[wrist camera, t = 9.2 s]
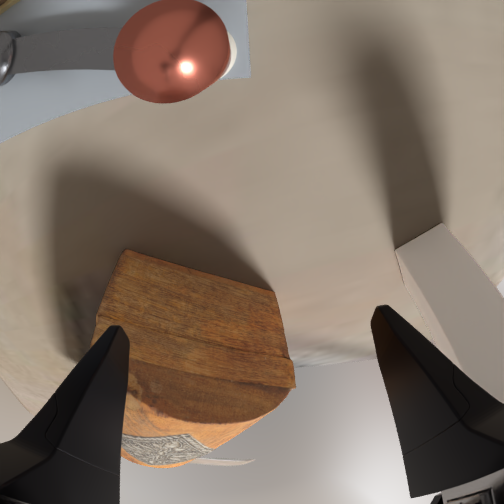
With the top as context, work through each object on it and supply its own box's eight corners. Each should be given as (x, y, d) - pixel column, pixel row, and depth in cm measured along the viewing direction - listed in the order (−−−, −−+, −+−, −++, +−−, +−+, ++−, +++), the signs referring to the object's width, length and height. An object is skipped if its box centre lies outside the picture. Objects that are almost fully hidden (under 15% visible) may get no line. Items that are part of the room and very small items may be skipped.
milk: (441, 221, 23) (566, 413, 5) (446, 260, 26) (539, 428, 9) (392, 249, 25) (497, 469, 7) (403, 286, 28) (482, 469, 10)
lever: (-27, 37, 7) (-95, 57, 1) (243, 23, 11) (251, -13, 5) (-34, 92, 9) (-100, 124, 3) (219, 98, 14) (207, 124, 8)
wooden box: (114, 239, 22) (53, 383, 11) (284, 291, 27) (310, 430, 16) (105, 379, 38) (91, 454, 27) (198, 401, 43) (197, 475, 32)
